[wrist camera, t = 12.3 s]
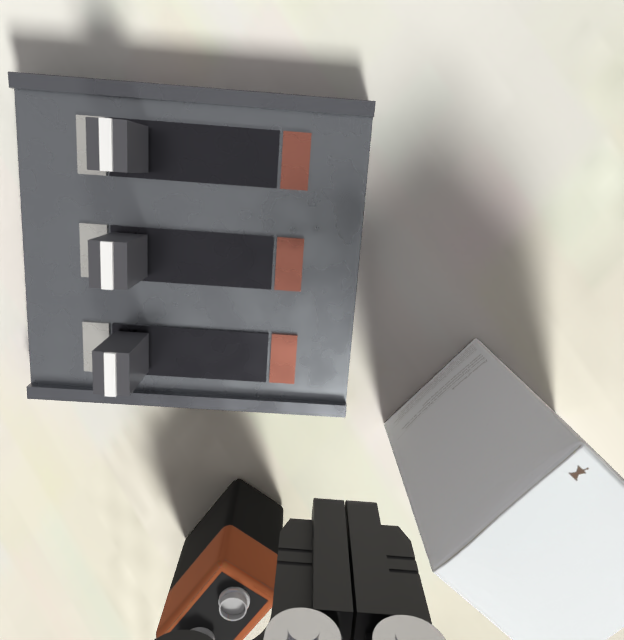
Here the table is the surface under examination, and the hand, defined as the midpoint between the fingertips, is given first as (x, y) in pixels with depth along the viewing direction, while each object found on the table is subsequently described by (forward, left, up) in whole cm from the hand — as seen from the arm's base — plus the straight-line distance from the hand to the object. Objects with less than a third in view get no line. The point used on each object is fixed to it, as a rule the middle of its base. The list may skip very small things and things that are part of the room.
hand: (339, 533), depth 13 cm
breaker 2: (+11, -3, -22) cm, 25 cm away
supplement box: (-11, +8, -24) cm, 28 cm away
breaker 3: (+11, +3, -22) cm, 25 cm away
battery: (+5, +17, -24) cm, 30 cm away
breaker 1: (+11, -9, -22) cm, 26 cm away
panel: (+8, -3, -24) cm, 25 cm away
